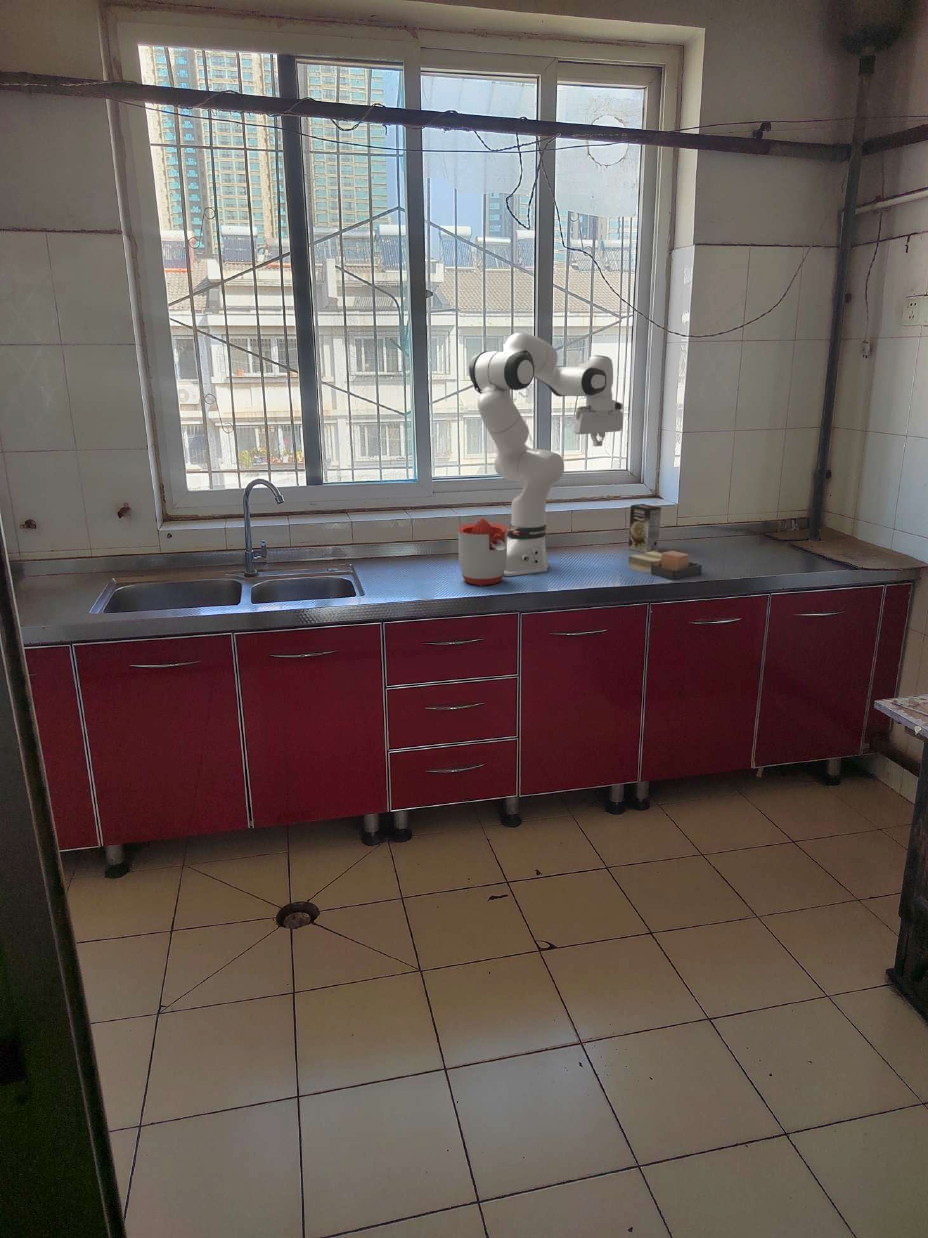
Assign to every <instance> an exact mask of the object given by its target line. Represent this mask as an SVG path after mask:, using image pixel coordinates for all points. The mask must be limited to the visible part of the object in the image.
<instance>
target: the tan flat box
mask: <svg viewBox="0 0 928 1238" xmlns="http://www.w3.org/2000/svg"><path fill="white" fill-rule="evenodd" d="M662 553H663V552H659V551H652V552H647V553H643V552H641V553H637V554H632V555H628V564H627V569H631V570H634V569H635V570H634V571H638V572H641V571H642V573H646V574H648V575H651V565H655V566H658V567H661V557H662Z"/></svg>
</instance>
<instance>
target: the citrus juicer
mask: <svg viewBox="0 0 928 1238" xmlns="http://www.w3.org/2000/svg"><path fill="white" fill-rule="evenodd" d="M508 529H509V527H507V526H506V525H502V524H497V523H489V522H488V521H487V520H486V519H485V518H481V519H479V520H478V522H476V523H470V524H469V523H468V524H464V525H460V526H459V527H457V533H458V534H457V535H458V537H457V538H458V563H459V568H460V571H461V575H462V578H463V580H464V581H465V583H467V584H471V585H477V586H479V585H483V586H485V585H486V586H487V585H488V586H489V585H494V584H497V583H500V582H502V580H503V577H504V576H503V575H504V571H505V567H506V561H507V530H508Z"/></svg>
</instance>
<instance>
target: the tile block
mask: <svg viewBox="0 0 928 1238" xmlns="http://www.w3.org/2000/svg"><path fill="white" fill-rule="evenodd" d="M661 553H662V557H661V567H662V568H666V569H670V570H678V569H683V568H687V567H689V562H690V554H689V553H684V552H681V551H680V552H679V551H675V550H669V551H665V552H661Z"/></svg>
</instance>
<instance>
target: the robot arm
mask: <svg viewBox="0 0 928 1238" xmlns="http://www.w3.org/2000/svg"><path fill="white" fill-rule="evenodd" d="M557 352H558V351H557V349H555V347H554V346H553V345H552V344H550V343H549V342H547V341H545V340H544V339H542V338H540V337H538V336H535V335H532V334H529V333H525V332H514V333H513V334H511V335H510V336H509V337H508V338H507V340H506V342H505V344H504V347H503V350H495V351H487V350H486V351H481V352H479V353H476V354H474V355H473V356H472V358H470V361H469V364H468V373H469V378H470V381H471V383H472V384H473V388H474V390H475V391H476V392H477V393H478V394H479V395H480V396H479V397H478V399H477V409H478V412H479V415H480V417H481V419H482V421H483V424H484V426H485V428H486V429H487V431H488V433H489V435H490V436H491V438H492V440H493V441H494V444H495V445H496V447H497V454H496V456H495V458H494V470H495V473H496V474H497V475H498V476H499V477H500V478H503V479H506V480H508V481H511V482H518V483H523V487H522V491H521V493H520V494H518V495H517V496H515V497H514V498H513V500H512V501H511V516H510V517H511V522H510V523H511V524H510V525H509V527H508V530H507V561H506V567H505V571H504V575H503V577H505V576H506V577H512V576H519V575H529V574H535V573H543V572H547V571H548V568H549V567H550V564H549V562H548V557H547V556H548V555H547V549H546V536H547V525H546V507H547V506H546V505H547V500H548V496H549V494H550V491H551V490H552V488H553V487H554V486H555V485H556V484H557V483H558V482H559V481H560V480H561V479H562V477H563V475H564V473H565V462H564V460H563V458H562V456H561V455H560V454H558V453H556V452H553V451H552V450H548V449H542V448H541V449H540V448H530V447H528V445H526V443H527V441H528V439H529V435H530V434H529V433H530V430H529V428H528V426H527V424H526V422H525V420H524V418H523V417H522V414H521V413H520V411H519V409H518V408H517V406H516V405H515V403H514V401H513V400H512V396H511V391H520V390H523V389H527V388H528V387H529V386H530V385H531V383H532V382H533V379H536V380H537V381H539V382H541V383H543V384H544V385H546V386H547V387H548V388H549V390H550V391H551V392H552V394H553V395H554V396H556V397H586V401H585V402H586V403H585V405H584V406H582V405H581V406H579V407H578V408H577V409H576V411H575V416H574V423H573V433H574V434H576V435H590V439H591V440H592V447H602V446H603V441H604V439H605V437H606V433H614V432H615V433H617V432H621V431H622V429H623V426H624V425H623V423H624V416H623V411H622V410H624V409H623V408H624V404H623V403H621V402H619V401H617V400H614V399H613V392H612V388H613V385H614V365H613V361H612V360H613V359H611V358H610V357H609V356H607V355H606V356H604V355H598V354H597V355H591V356H589V359H588V361H587V362H586V363H585V364H583V365H581V366H566V365H558V358H559V357H558V353H557ZM597 437H598V438H597Z"/></svg>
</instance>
